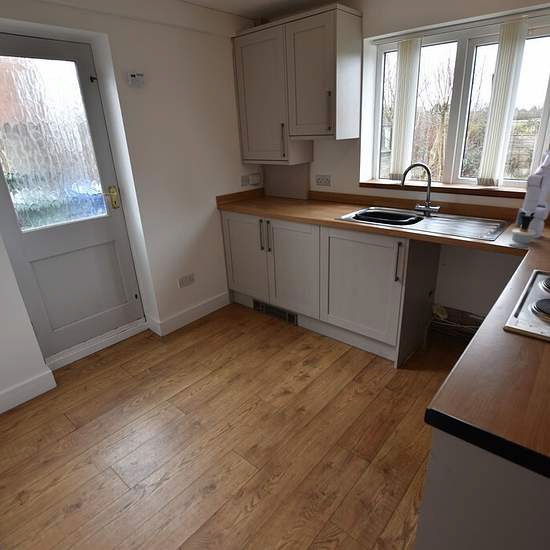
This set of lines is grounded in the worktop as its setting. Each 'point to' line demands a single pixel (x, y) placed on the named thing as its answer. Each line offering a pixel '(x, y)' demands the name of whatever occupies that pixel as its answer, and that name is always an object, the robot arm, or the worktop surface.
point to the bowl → (522, 238)
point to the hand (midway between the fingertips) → (524, 227)
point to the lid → (523, 231)
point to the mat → (518, 246)
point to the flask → (518, 219)
